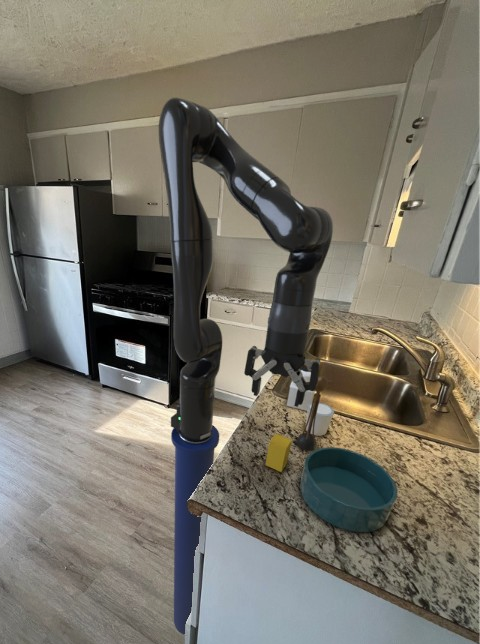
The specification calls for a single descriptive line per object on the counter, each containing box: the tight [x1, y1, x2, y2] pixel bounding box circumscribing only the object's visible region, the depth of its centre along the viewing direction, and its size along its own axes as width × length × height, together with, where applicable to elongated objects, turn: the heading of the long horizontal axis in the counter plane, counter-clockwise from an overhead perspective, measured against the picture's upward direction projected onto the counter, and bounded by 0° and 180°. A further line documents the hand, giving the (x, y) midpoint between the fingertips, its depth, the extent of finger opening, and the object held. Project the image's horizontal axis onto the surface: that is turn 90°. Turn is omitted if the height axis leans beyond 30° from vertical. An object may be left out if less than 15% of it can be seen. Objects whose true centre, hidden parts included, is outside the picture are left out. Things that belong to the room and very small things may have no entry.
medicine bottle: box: [286, 366, 316, 412], centre depth 98 cm, size 7×7×12 cm
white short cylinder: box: [305, 402, 335, 437], centre depth 87 cm, size 7×7×7 cm
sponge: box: [265, 433, 293, 473], centre depth 74 cm, size 4×4×7 cm
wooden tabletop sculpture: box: [295, 375, 334, 452], centre depth 78 cm, size 6×5×20 cm
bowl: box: [299, 446, 398, 533], centre depth 66 cm, size 17×17×6 cm
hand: (276, 399), depth 66 cm, fingers open, 8 cm apart
